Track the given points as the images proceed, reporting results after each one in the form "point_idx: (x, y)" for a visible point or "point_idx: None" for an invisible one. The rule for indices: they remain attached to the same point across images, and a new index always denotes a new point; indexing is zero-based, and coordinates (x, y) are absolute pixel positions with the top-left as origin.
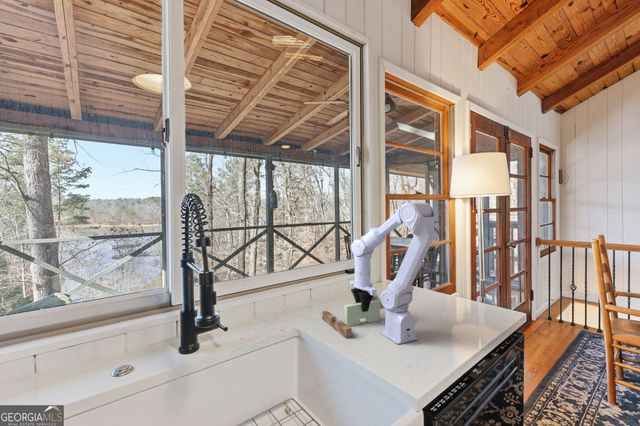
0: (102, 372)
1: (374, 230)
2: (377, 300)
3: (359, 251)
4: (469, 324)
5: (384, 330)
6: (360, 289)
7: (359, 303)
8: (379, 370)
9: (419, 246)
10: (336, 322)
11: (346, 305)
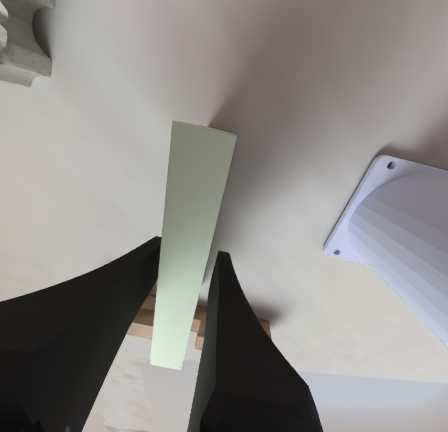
0: None
1: None
2: (194, 133)
3: None
4: None
5: (338, 235)
6: (47, 427)
7: (170, 305)
8: (415, 373)
9: None
10: (201, 347)
11: (159, 361)
